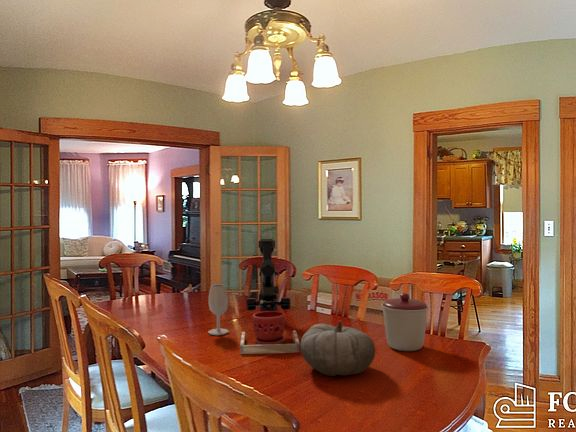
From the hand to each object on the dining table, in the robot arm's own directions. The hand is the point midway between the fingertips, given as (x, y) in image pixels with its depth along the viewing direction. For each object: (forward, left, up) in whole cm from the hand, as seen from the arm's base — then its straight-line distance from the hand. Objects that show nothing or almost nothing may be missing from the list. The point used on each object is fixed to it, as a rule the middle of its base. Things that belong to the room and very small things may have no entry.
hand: (268, 321), depth 184 cm
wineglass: (+6, -23, -7) cm, 25 cm away
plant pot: (+5, +4, -7) cm, 10 cm away
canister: (-21, +51, -7) cm, 55 cm away
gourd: (+15, +41, -7) cm, 44 cm away
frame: (+7, +6, -7) cm, 11 cm away
